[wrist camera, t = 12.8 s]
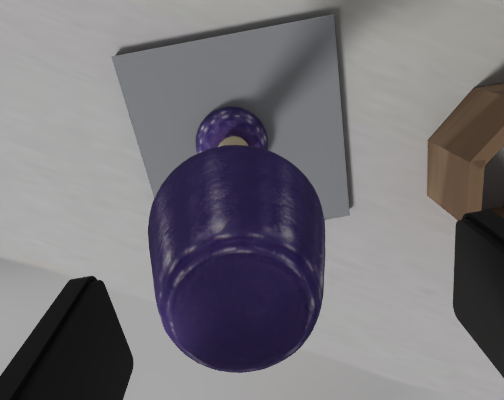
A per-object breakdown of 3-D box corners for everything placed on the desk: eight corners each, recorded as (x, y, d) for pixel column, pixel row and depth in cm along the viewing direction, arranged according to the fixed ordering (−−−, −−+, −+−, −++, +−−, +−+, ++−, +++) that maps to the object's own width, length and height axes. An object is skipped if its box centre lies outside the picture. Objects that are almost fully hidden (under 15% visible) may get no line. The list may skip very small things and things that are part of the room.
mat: (347, 211, 25) (349, 215, 25) (170, 243, 26) (169, 247, 25) (331, 14, 21) (333, 13, 20) (114, 56, 21) (111, 56, 20)
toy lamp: (178, 114, 22) (51, 264, 6) (254, 81, 21) (324, 151, 6) (214, 187, 23) (183, 452, 8) (284, 158, 23) (402, 375, 7)
